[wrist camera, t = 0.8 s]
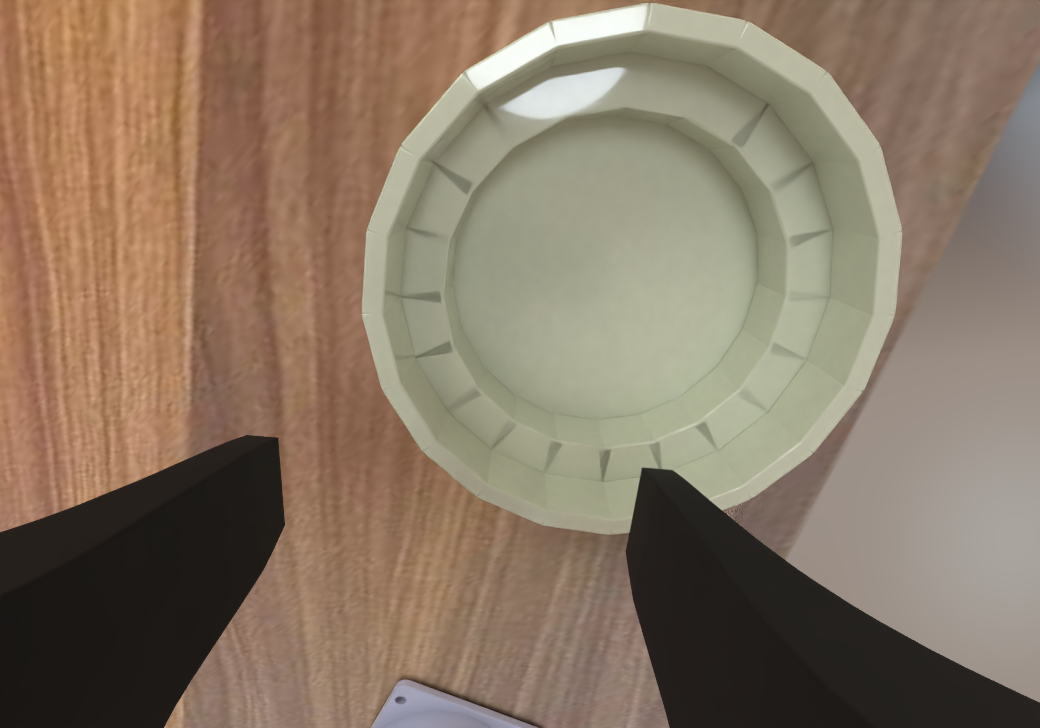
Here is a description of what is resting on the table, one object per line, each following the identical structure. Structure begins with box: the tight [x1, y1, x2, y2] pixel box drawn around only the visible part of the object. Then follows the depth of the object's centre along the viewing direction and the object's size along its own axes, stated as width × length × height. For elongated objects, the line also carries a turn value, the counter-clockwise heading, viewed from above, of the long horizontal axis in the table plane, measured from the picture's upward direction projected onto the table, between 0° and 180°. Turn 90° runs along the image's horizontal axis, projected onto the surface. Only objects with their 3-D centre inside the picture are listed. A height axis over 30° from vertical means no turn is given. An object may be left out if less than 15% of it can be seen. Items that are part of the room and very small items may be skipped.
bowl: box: [362, 3, 902, 535], centre depth 17 cm, size 14×14×5 cm
